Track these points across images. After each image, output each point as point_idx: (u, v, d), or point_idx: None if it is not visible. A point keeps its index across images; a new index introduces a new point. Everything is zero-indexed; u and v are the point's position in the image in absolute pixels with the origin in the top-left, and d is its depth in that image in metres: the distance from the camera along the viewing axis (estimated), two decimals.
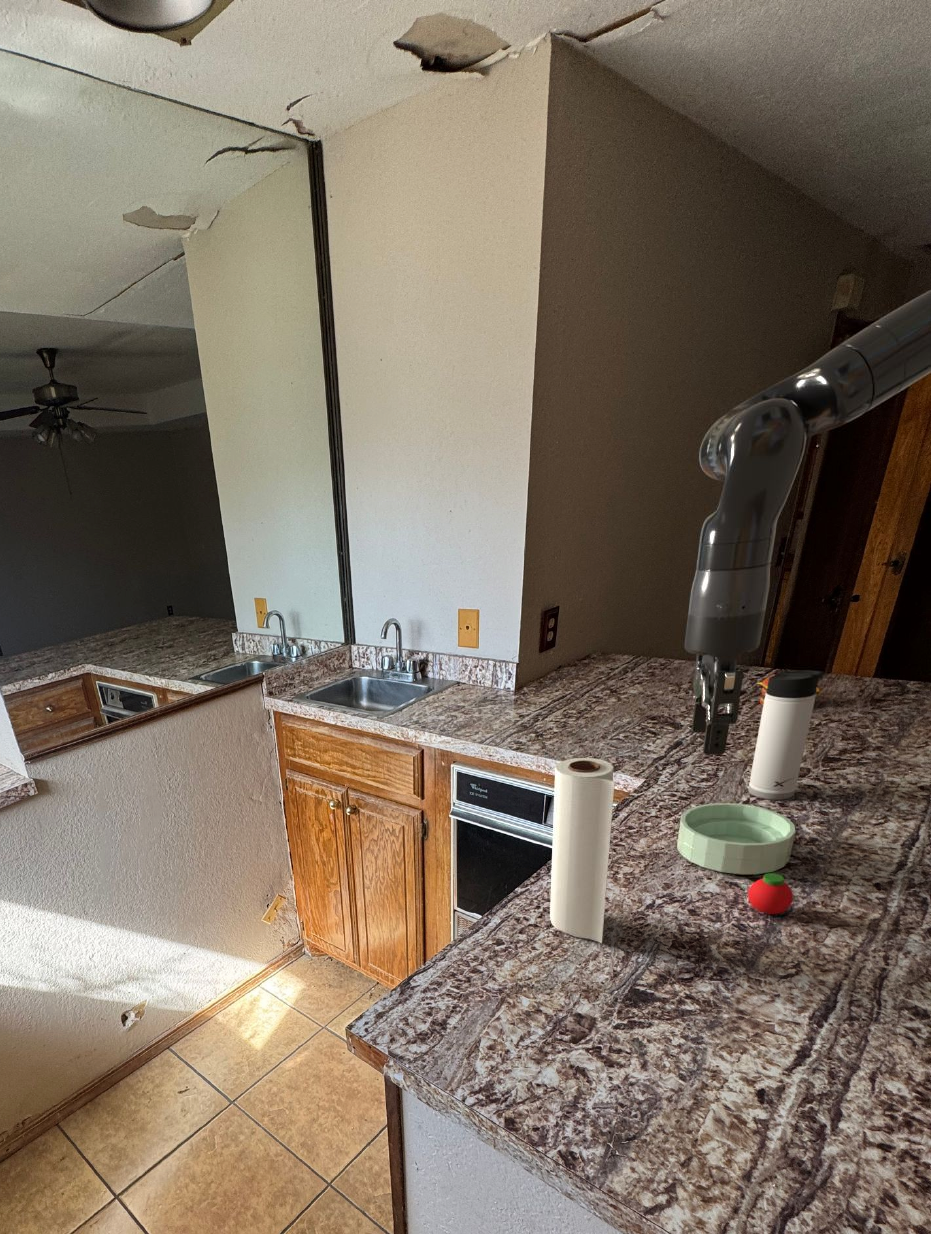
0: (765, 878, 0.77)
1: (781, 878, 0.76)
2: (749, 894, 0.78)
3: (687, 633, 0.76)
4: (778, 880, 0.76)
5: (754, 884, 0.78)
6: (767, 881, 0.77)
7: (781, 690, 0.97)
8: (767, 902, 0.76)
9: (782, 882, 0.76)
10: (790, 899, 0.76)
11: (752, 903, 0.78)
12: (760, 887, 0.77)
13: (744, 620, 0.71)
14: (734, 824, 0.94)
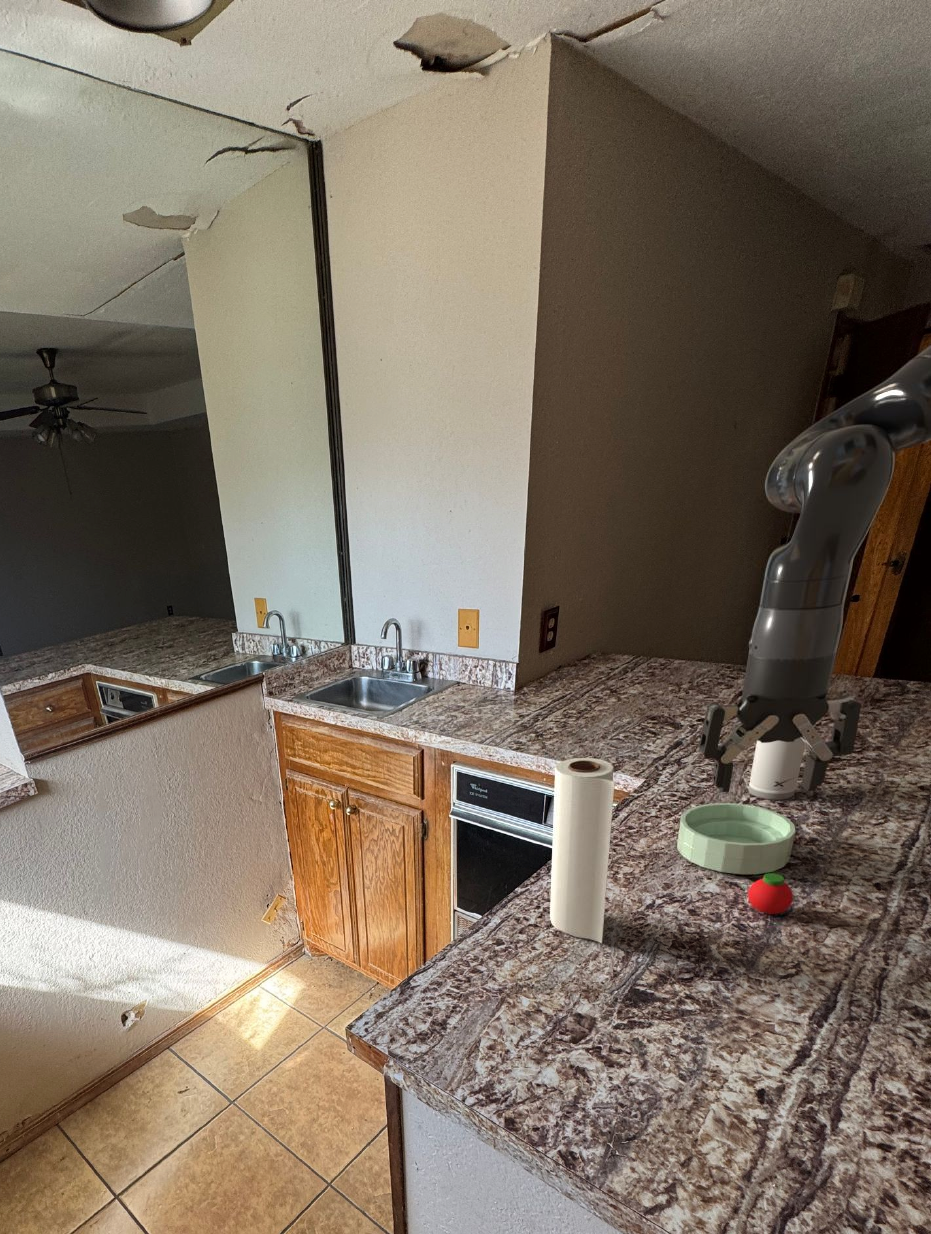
0: (765, 878, 0.77)
1: (781, 878, 0.76)
2: (749, 894, 0.78)
3: None
4: (778, 880, 0.76)
5: (754, 884, 0.78)
6: (767, 881, 0.77)
7: None
8: (767, 902, 0.76)
9: (782, 882, 0.76)
10: (790, 899, 0.76)
11: (752, 903, 0.78)
12: (760, 887, 0.77)
13: (755, 661, 0.69)
14: (734, 824, 0.94)
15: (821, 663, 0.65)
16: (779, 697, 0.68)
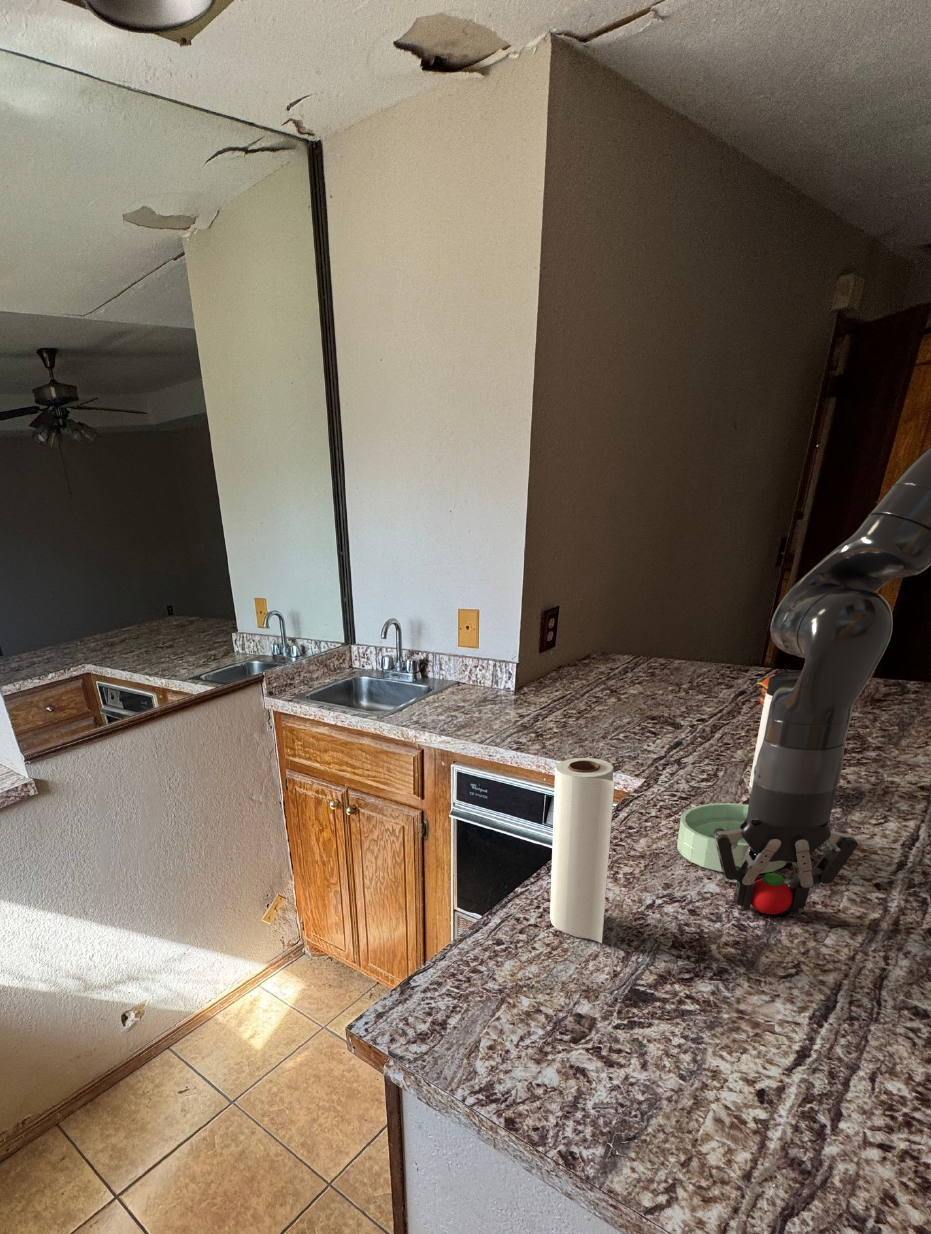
0: (765, 878, 0.77)
1: (781, 878, 0.76)
2: None
3: None
4: (778, 880, 0.76)
5: (754, 884, 0.78)
6: (767, 881, 0.77)
7: None
8: (767, 902, 0.76)
9: (782, 882, 0.76)
10: (790, 899, 0.76)
11: (752, 903, 0.78)
12: (760, 887, 0.77)
13: (758, 789, 0.72)
14: (734, 824, 0.94)
15: (821, 798, 0.68)
16: (781, 825, 0.71)
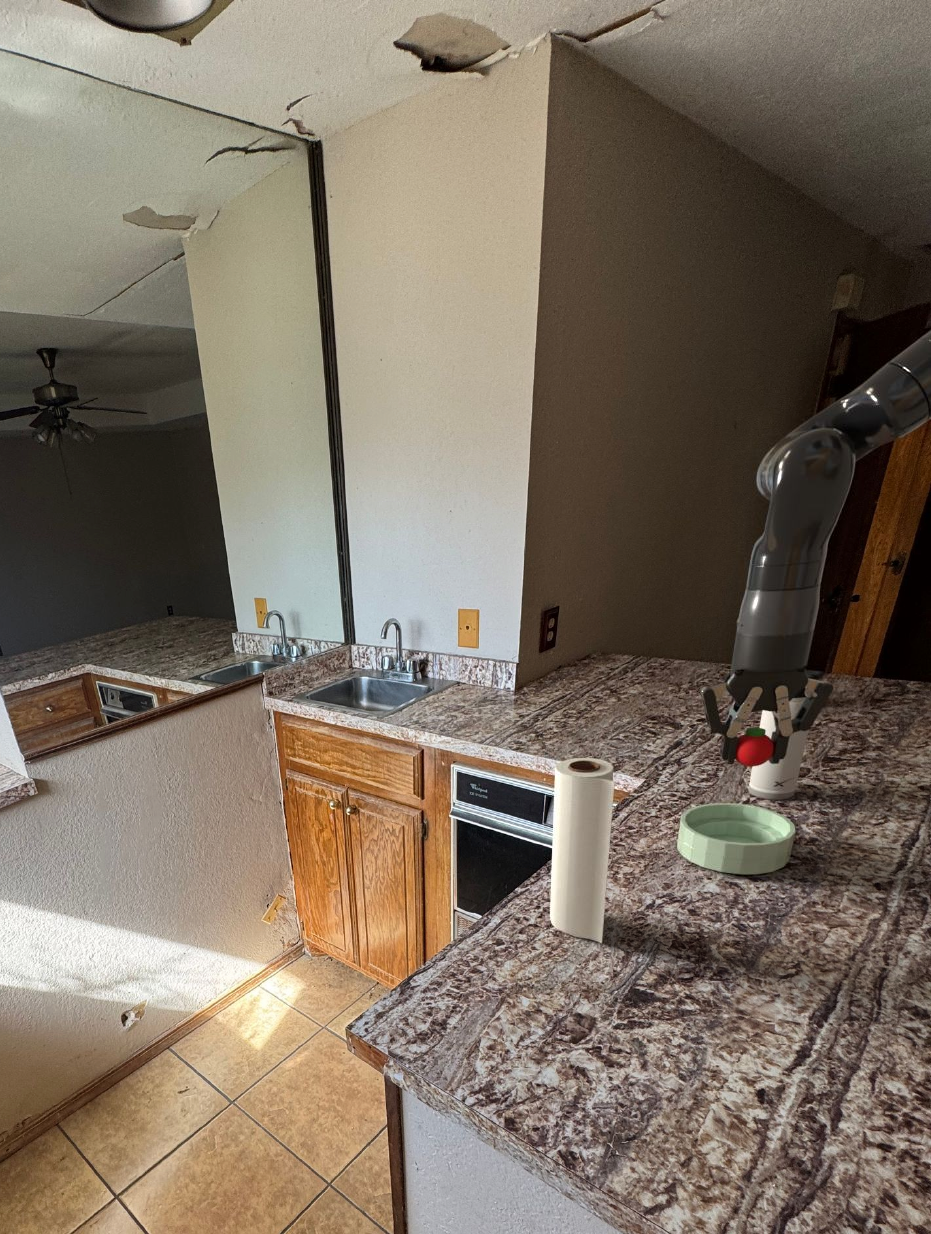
0: (748, 731, 0.82)
1: (763, 730, 0.81)
2: None
3: None
4: (760, 731, 0.81)
5: (738, 739, 0.83)
6: (750, 733, 0.82)
7: None
8: (750, 752, 0.81)
9: (764, 733, 0.81)
10: (771, 749, 0.81)
11: (736, 757, 0.83)
12: (743, 740, 0.82)
13: (741, 638, 0.77)
14: (734, 824, 0.94)
15: (799, 639, 0.73)
16: (761, 670, 0.76)
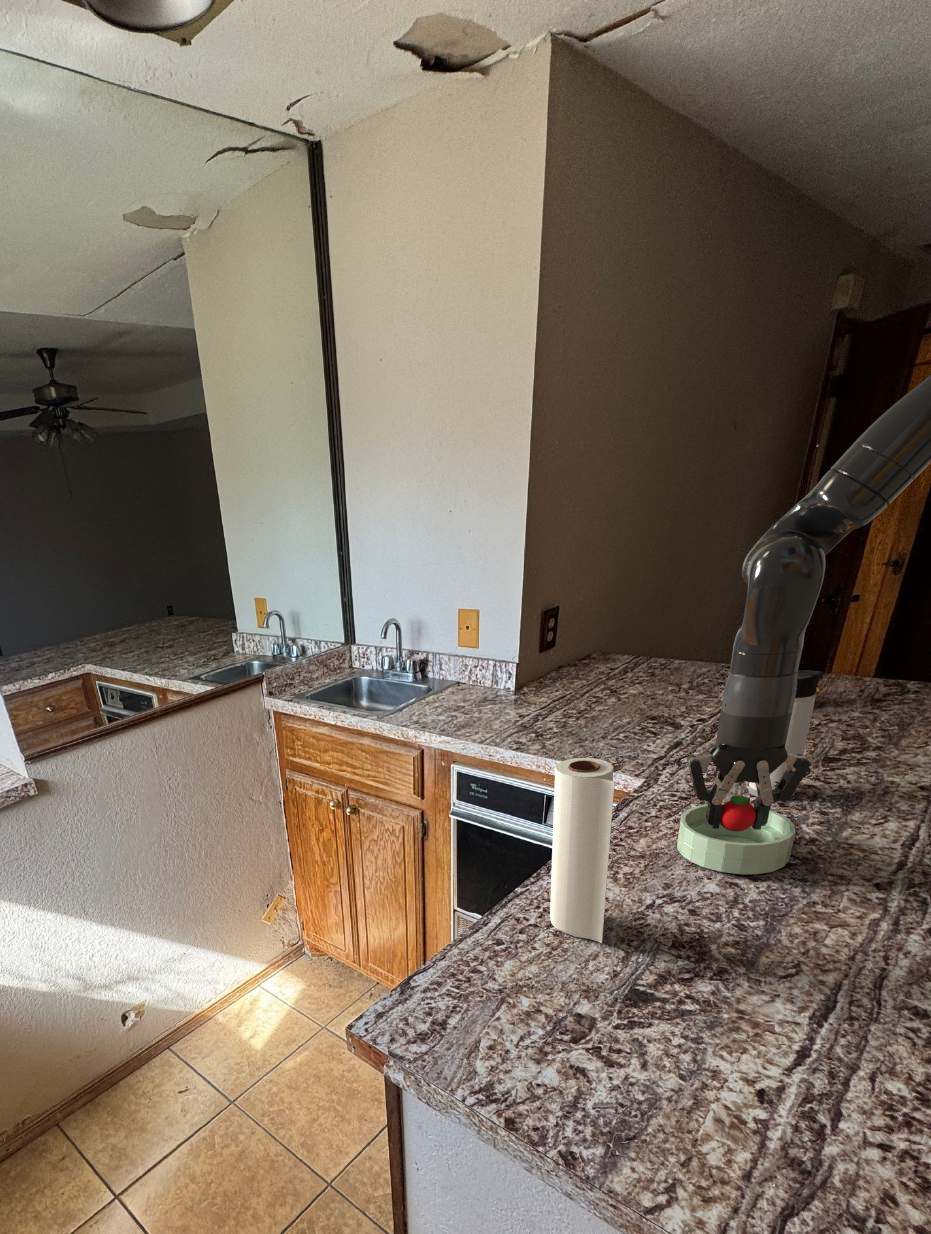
0: (732, 799, 0.87)
1: (746, 798, 0.87)
2: None
3: None
4: (743, 800, 0.87)
5: (723, 805, 0.89)
6: (733, 801, 0.87)
7: None
8: (733, 819, 0.87)
9: (746, 802, 0.87)
10: (753, 816, 0.86)
11: (721, 822, 0.89)
12: (727, 807, 0.88)
13: (725, 716, 0.82)
14: None
15: (778, 721, 0.79)
16: (743, 747, 0.81)
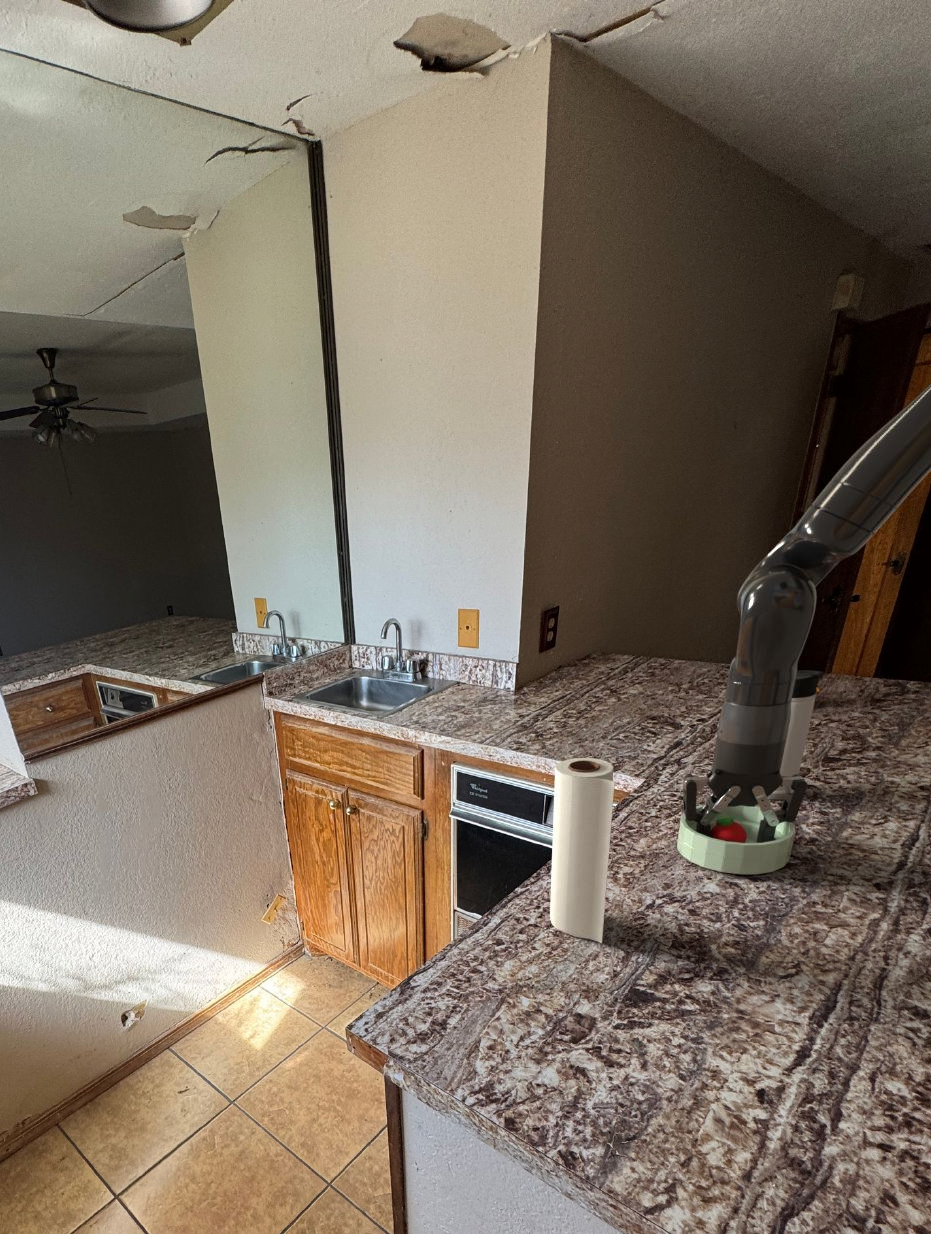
0: (717, 822, 0.90)
1: (730, 818, 0.89)
2: None
3: None
4: (727, 820, 0.89)
5: (711, 829, 0.91)
6: (719, 824, 0.89)
7: None
8: None
9: (731, 821, 0.89)
10: (743, 834, 0.88)
11: None
12: (715, 830, 0.90)
13: (720, 743, 0.84)
14: None
15: (772, 748, 0.80)
16: (739, 773, 0.83)
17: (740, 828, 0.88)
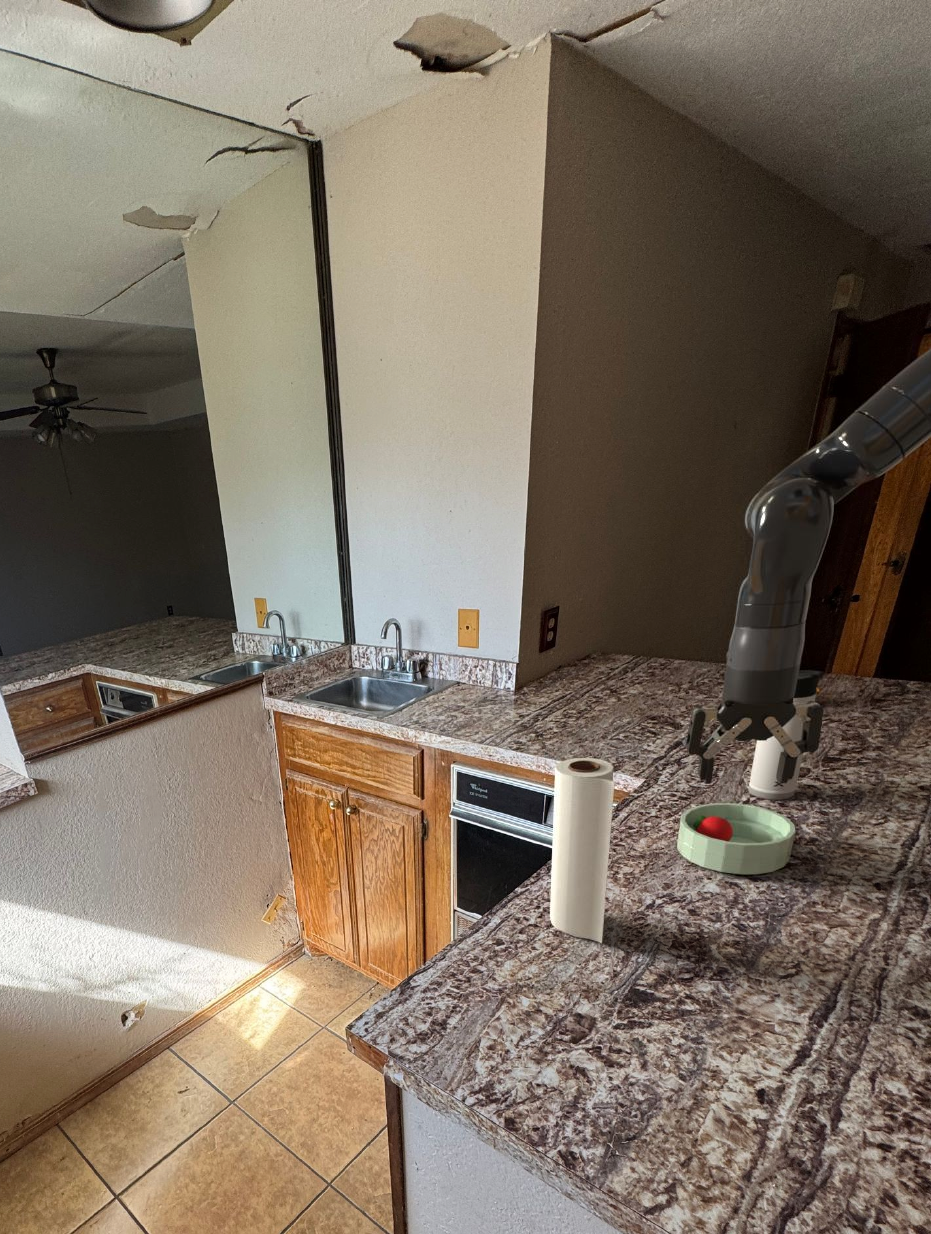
0: (693, 825, 0.93)
1: (701, 816, 0.93)
2: None
3: None
4: (699, 818, 0.92)
5: None
6: (695, 825, 0.93)
7: None
8: (708, 832, 0.90)
9: (703, 817, 0.92)
10: (720, 819, 0.91)
11: None
12: (697, 831, 0.92)
13: (730, 671, 0.80)
14: (734, 824, 0.94)
15: (785, 674, 0.77)
16: (750, 702, 0.79)
17: (714, 817, 0.91)
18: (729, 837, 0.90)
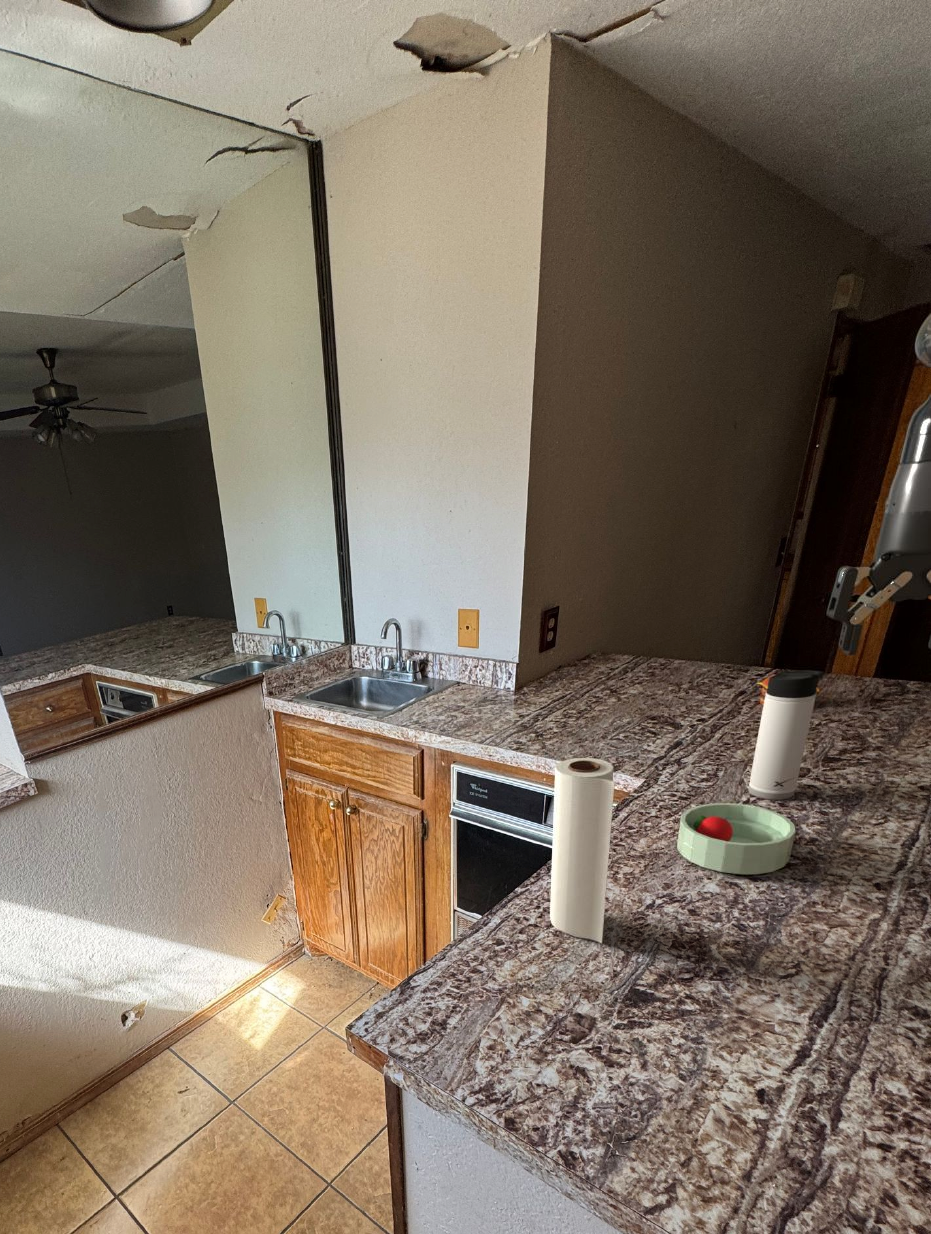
0: (693, 825, 0.93)
1: (701, 816, 0.93)
2: None
3: None
4: (699, 818, 0.92)
5: None
6: (695, 825, 0.93)
7: (781, 690, 0.97)
8: (708, 832, 0.90)
9: (703, 817, 0.92)
10: (720, 819, 0.91)
11: None
12: (697, 831, 0.92)
13: (892, 518, 0.73)
14: (734, 824, 0.94)
15: None
16: (916, 550, 0.72)
17: (714, 817, 0.91)
18: (729, 837, 0.90)
